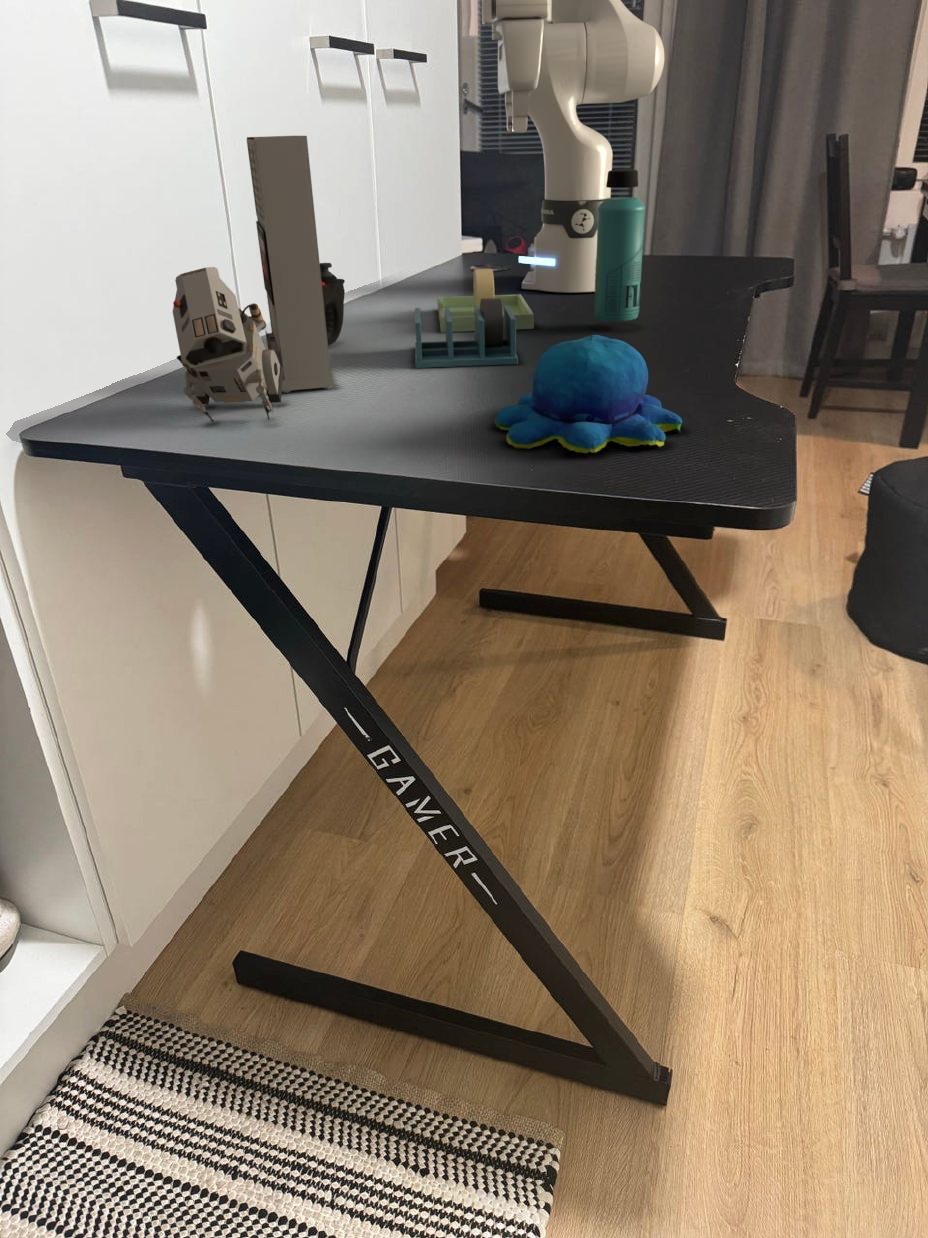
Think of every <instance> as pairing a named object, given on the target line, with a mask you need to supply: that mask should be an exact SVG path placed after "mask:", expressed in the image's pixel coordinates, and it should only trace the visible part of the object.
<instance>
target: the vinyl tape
mask: <svg viewBox="0 0 928 1238" xmlns="http://www.w3.org/2000/svg"><path fill="white" fill-rule="evenodd" d="M480 311H481V314H482V316H483V319H484V347H502V346H503V339H504V330H503V308H502V301H501V298H487V299H481V302H480Z"/></svg>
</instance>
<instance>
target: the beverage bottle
mask: <svg viewBox="0 0 928 1238" xmlns="http://www.w3.org/2000/svg"><path fill="white" fill-rule="evenodd" d="M606 187H608V188H611V189H624V188H625V189H628V188H638V187H639V171H638V170H637V169H631V168H618V169H612V170H611V171H609V172H608V178H607V184H606ZM645 211H646V206H645V204H644V203H643V202H642V201H641V200H640V199H639V198H638V197H634V196H633V197H632V196H631V197H628V196H625V197H624V196H621V197H620V196H619V197H618V196H617V197H610V198H607V199H605V200H604V201H603V202H602V203H601V204H600V206H599V207H598V228H597V254H596V269H595V270H596V272H595V271H594V274H595V275H594V276H595V277H594V278H595V288H594V289H595V291H594V299H593V303H592V305H593V310H592V312H593V315H594V318H595V319H596V320H599V321H606V322H607V321H608V322H611V321H612V322H623V321H625V322H626V321H632V320H636V319H637V318H638V316H639V314H640V311H641V310H640V306H641V302H642V293H641V288H642V287H643V286H642V283H643V282H642V276H643V275H642V268H643V266H642V265H643V253H644V251H645V249H644V248H645V247H644V243H645V242H644V237H645V235H644V225H645V224H644V223H645ZM643 250H644V251H643Z"/></svg>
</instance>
